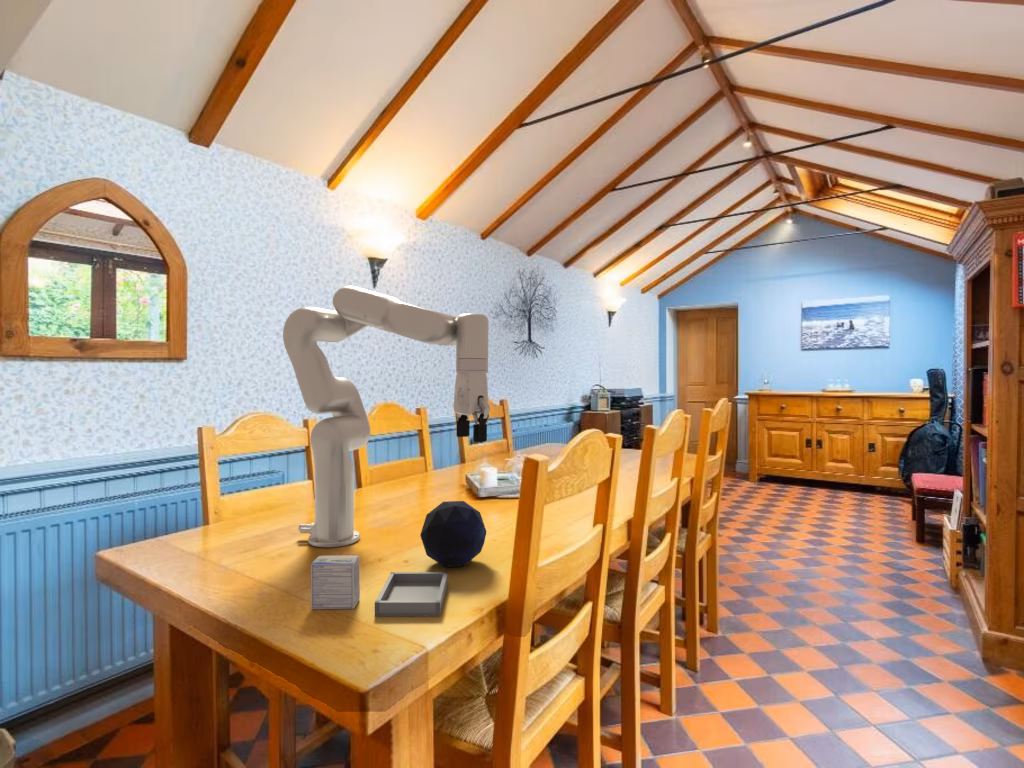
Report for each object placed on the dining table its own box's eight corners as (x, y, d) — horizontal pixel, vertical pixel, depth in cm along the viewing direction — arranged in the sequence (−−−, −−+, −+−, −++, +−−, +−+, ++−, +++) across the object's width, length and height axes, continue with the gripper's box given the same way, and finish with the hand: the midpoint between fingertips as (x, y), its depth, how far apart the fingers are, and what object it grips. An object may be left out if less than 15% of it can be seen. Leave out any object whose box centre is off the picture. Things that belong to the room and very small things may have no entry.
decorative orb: (469, 525, 136) (439, 482, 130) (509, 539, 125) (478, 493, 118) (431, 570, 129) (396, 527, 122) (469, 589, 118) (434, 543, 111)
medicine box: (360, 599, 104) (360, 554, 104) (354, 610, 100) (354, 563, 100) (318, 600, 104) (318, 554, 104) (310, 610, 100) (310, 563, 99)
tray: (374, 616, 97) (374, 602, 97) (391, 584, 112) (391, 572, 112) (439, 616, 98) (439, 602, 97) (447, 584, 112) (447, 572, 112)
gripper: (443, 366, 134) (442, 435, 135) (472, 366, 119) (471, 444, 120) (471, 366, 138) (470, 434, 138) (503, 367, 123) (502, 442, 123)
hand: (471, 439), depth 129 cm, fingers open, 9 cm apart
